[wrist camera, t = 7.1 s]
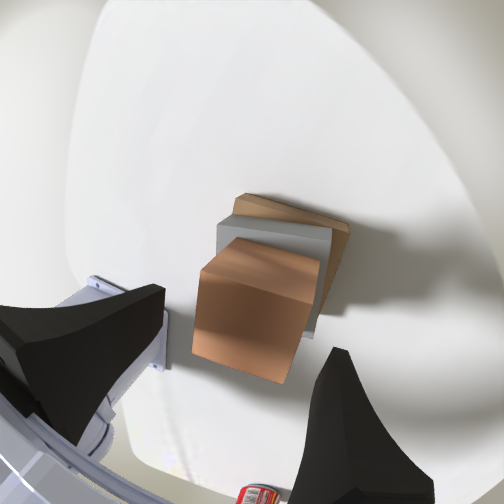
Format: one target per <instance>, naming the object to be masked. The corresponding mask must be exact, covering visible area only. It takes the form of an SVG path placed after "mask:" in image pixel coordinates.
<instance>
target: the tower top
mask: <svg viewBox="0 0 504 504" xmlns="http://www.w3.org/2000/svg"><path fill="white" fill-rule="evenodd" d="M236 237H239V238H242V239H246V240H250V241H253V242H257V243H260V244H264V245H267V246H271V247H274V248H278V249H281V250H285V251H289V252H292V253H296V254H299V255H303V256H306V257H310V258H313V259H317V260H320V265H319V272H318V278H317V284H316V290H315V296H314V301H313V306H312V309H311V312H310V314H309V317H308V320H307V323H306V326H305V328H304V331H303V334H302V337H305V338H310V339H313V336H314V332H315V327H316V323H317V318H318V313H319V308H320V303H321V298H322V293H323V288H324V282H325V277H326V271H327V265H328V260H329V254H330V247H331V241H332V228H328V227H322V226H315V225H308V224H302V223H295V222H288V221H281V220H273V219H266V218H258V217H251V216H243V215H235V214H232V215H230V216H229V217H227V218H226V219H224V220H223V221H221V222H220V223H218V224H217V241H216V255H218V254H219V253H220V252H221V251H222V250H223V249H224V248H225V247H226V246H227V245H228V244H229V243H230V242H232V241H233V240H234V239H235V238H236Z"/></svg>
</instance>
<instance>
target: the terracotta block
mask: <svg viewBox="0 0 504 504" xmlns="http://www.w3.org/2000/svg"><path fill="white" fill-rule="evenodd" d="M319 265H320V260H317V259H313V258H310V257H306V256H303V255H299V254H296V253H292V252H289V251H285V250H281V249H278V248H274V247H271V246H267V245H264V244H260V243H257V242H253V241H250V240H246V239H242V238H239V237H236V238H235V239H234V240H233V241H232V242H230V243H229V244H228V245H227V246H226V247H225V248H224V249H223V250H222V251H221V252H220V253H219V254H218V255H216V256H215V257H214V258H213V259H212V260H211V261H210V262H209V263H208V264H207V265H206V266H205V267H204V268H203V269H202V270H201V271H200V279H199V287H198V296H197V305H196V315H195V325H194V335H193V346H192V353H193V354H196V355H198V356H201V357H203V358H206V359H209V360H211V361H214V362H217V363H220V364H222V365H225V366H228V367H231V368H234V369H237V370H239V371H242V372H245V373H248V374H252V375H255V376H258V377H261V378H264V379H267V380H271V381H274V382H277V383H281V384H283V383H284V381H285V378H286V376H287V373H288V371H289V368H290V366H291V363H292V360H293V358H294V355H295V353H296V350H297V347H298V345H299V342H300V339H301V337H302V334H303V331H304V328H305V326H306V323H307V320H308V317H309V314H310V312H311V309H312V306H313V301H314V296H315V290H316V284H317V278H318V272H319Z"/></svg>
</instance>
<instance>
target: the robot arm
mask: <svg viewBox="0 0 504 504" xmlns="http://www.w3.org/2000/svg"><path fill="white" fill-rule="evenodd" d="M165 290H166V288H163V287H161V286H159V285H156V284H150V285H146V286H143V287H140V288H137V289H133V290H130V291H127V292H125V291H122V290H120V289H118V288H116V287H114V286H112V285H110V284H108V283H106V282H104V281H102V280H100V279H98V278H95V277H93V276H90V277H88V285H87V286H86V287H84V288H83V289H81V290H80V291H78V292H77V293H75V294H74V295H72V296H70V297H69V298H67V299H66V300H64V301H63V302H61V303H60V304H58V305H57V306H55V307H54V308H18V307H10V306H2V305H0V504H121V503H119V502H117V501H115V500H114V499H112V498H110V497H109V496H107V495H106V494H104V493H102V492H101V491H99V490H98V489H96V488H95V487H93V486H92V485H90V484H89V483H87V482H86V481H84V480H83V479H81V478H80V477H79V476H77V475H76V474H78V473H81V474H82V475H84V476H85V477H87V478H88V479H89V480H91V481H92V482H94V483H95V484H97V485H99V486H100V487H102V488H104V489H105V490H107V491H108V492H110V493H111V494H113V495H115V496H117V497H118V498H120V499H122V500H123V501H125V502H127V503H129V504H175V503H172V502H170V501H168V500H166V499H164V498H161V497H159V496H157V495H155V494H153V493H151V492H149V491H147V490H145V489H143V488H141V487H139V486H137V485H135V484H134V483H132V482H130V481H128V480H127V479H125V478H123V477H121V476H120V475H118V474H116V473H114V472H113V471H111V470H110V469H108V468H106V467H105V466H103V465H101V464H100V463H99V462H100V461H101V460H102V459H103V458H104V457H105V455H106V454H107V453H108V451H109V450H110V448H111V446H112V443H113V436H114V427H113V425H112V424H111V423H110V422H111V420H112V419H113V418H114V417H115V415H116V413H115V412H114V411H113V410H112V407H113V406H114V405H115V404H116V403H117V402H118V400H119V399H120V398H121V397H122V396H123V394H124V393H125V392H126V391H127V390H128V389H129V387H130V386H131V385H132V384H133V383H134V381H135V380H136V379H137V378H138V377H139V376H140V374H141V373H142V372H143V371H144V370H145V368H146V367H147V366H149V367H151V368H154V369H156V370H158V371H160V372H163V371H164V370H165V362H166V341H167V324H168V313H167V311H166V310H164V303H165ZM288 504H435V494H434V483H433V480H432V479H431V478H430V477H429V476H428V475H426V474H425V473H424V472H423V471H422V470H421V469H420V468H418V467H417V466H416V465H415V464H414V463H413V462H412V461H411V460H410V459H409V457H408V456H407V455H406V454H405V453H404V452H403V451H402V450H401V449H400V447H399V446H398V445H397V444H396V442H395V441H394V440H393V438H392V437H391V436H390V434H389V433H388V432H387V430H386V429H385V427H384V426H383V424H382V423H381V421H380V419H379V418H378V416H377V414H376V413H375V411H374V409H373V407H372V405H371V403H370V402H369V400H368V398H367V396H366V393H365V391H364V389H363V387H362V384H361V382H360V380H359V377H358V375H357V372H356V370H355V367H354V365H353V362H352V360H351V357H350V355H349V352H348V351H347V350H344V349H340V348H337V347H333V349H332V351H331V353H330V355H329V357H328V359H327V361H326V362H325V364H324V366H323V368H322V370H321V372H320V374H319V376H318V378H317V379H316V382H315V386H314V390H313V394H312V398H311V403H310V410H309V418H308V426H307V434H306V441H305V448H304V453H303V457H302V461H301V464H300V468H299V471H298V474H297V478H296V481H295V484H294V487H293V490H292V493H291V496H290V498H289V501H288Z"/></svg>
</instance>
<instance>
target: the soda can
mask: <svg viewBox="0 0 504 504" xmlns="http://www.w3.org/2000/svg"><path fill="white" fill-rule="evenodd" d="M280 499H281V496H280V494H278V492H277V491H276V490H275V489H273V488H271V487H268V486H264V485H258V484H251V485H248V486H245V487H243V488H242V489H241V491H240V494H239V496H238V499H237V501H236V504H279V502H280Z"/></svg>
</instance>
